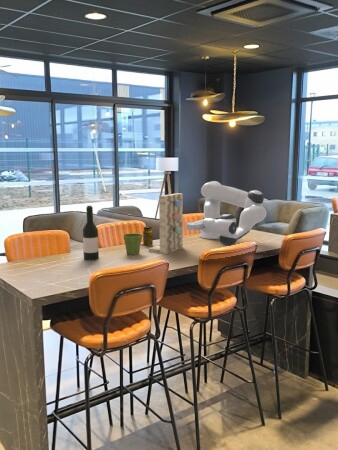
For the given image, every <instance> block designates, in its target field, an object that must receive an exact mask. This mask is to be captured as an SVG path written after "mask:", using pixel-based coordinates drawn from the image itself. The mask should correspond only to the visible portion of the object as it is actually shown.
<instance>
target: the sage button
mask: <svg viewBox="0 0 338 450" xmlns="http://www.w3.org/2000/svg"><path fill="white" fill-rule="evenodd" d="M173 231H175V233H176V234H180V233H181V231H182V228H181V227H179V226H177V227H176V228H173Z"/></svg>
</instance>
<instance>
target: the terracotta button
mask: <svg viewBox="0 0 338 450" xmlns="http://www.w3.org/2000/svg"><path fill="white" fill-rule="evenodd" d="M173 219H174V220H179V219H180V214H179V213H174V215H173Z"/></svg>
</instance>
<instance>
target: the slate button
mask: <svg viewBox="0 0 338 450" xmlns="http://www.w3.org/2000/svg"><path fill="white" fill-rule="evenodd" d="M181 204H182V202H181V200H176V201H175V202H173V205H175V206H176V207H181Z"/></svg>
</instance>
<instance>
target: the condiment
mask: <svg viewBox="0 0 338 450" xmlns="http://www.w3.org/2000/svg"><path fill="white" fill-rule="evenodd" d="M153 233H154V232H153V227H152V226H149V225H148V226H144V227H143V232H142V235H143V236H142V239H143V243H141V244H140V247H144V248H145V247H155V244H154V242H153V240H154V239H153V238H154V237H153V236H154V235H153Z"/></svg>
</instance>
